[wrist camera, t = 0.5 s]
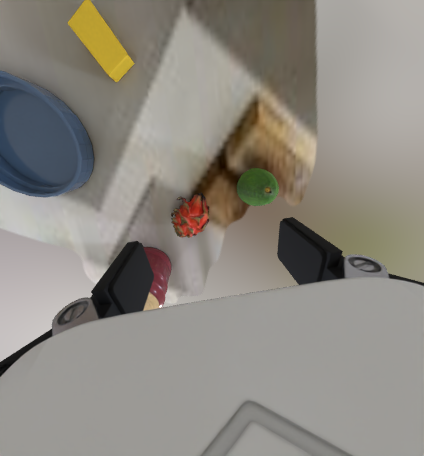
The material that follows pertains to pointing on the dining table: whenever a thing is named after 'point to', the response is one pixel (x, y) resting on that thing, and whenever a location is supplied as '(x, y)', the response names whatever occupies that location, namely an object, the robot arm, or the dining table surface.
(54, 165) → the bowl
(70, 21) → the sponge
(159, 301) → the kitchen canister
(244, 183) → the avocado
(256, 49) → the dining table surface
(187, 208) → the dragon fruit
